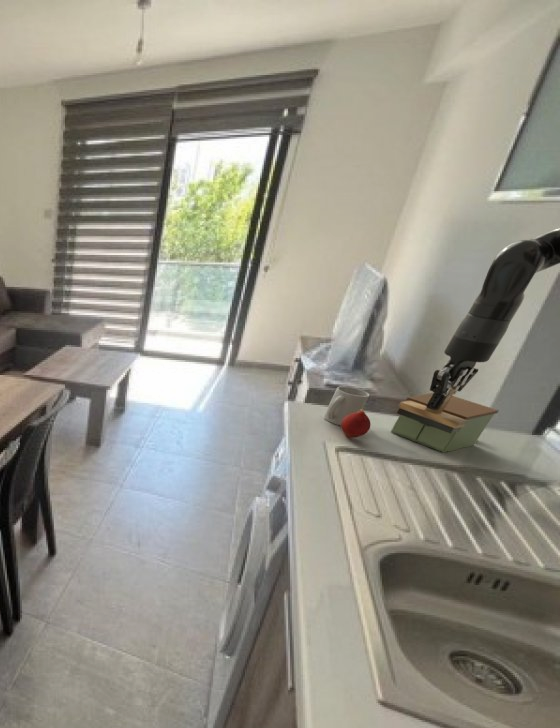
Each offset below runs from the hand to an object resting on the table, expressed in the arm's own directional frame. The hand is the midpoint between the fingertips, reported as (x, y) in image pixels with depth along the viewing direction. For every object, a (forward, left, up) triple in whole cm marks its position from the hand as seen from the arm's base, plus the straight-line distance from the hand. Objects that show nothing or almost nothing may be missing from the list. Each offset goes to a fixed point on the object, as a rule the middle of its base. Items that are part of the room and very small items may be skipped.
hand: (435, 407), depth 115 cm
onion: (+9, +10, -11) cm, 18 cm away
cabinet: (+2, -13, -11) cm, 17 cm away
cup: (+17, +3, -11) cm, 21 cm away
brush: (0, 0, -4) cm, 4 cm away
